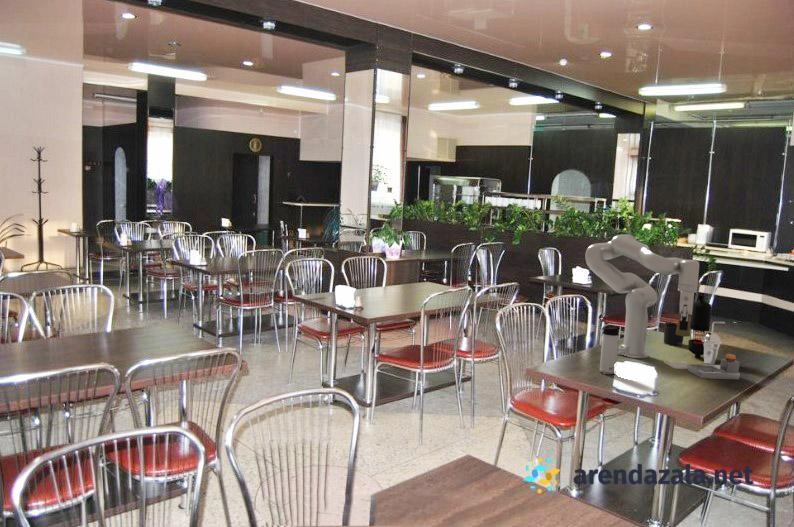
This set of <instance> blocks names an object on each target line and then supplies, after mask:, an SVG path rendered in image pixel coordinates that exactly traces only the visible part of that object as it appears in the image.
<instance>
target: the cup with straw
mask: <svg viewBox="0 0 794 527" xmlns="http://www.w3.org/2000/svg"><path fill="white" fill-rule="evenodd" d="M715 324H726V321H713V322H712V323H711V330H710V332H707V333H706V334H705V335H704V336H702V338H701V339H700V340H701V341H702V342H703V350H704V355H703V363H705V364H707V363H708V364H707V365H716V363H715V362H716V361H717V356H718V352H719V348H720V347H721V345H722V344H723V341H722V340H721V337H720V336H719V335H718V333H715V332H714V328H715Z"/></svg>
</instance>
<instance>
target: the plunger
mask: <svg viewBox="0 0 794 527" xmlns="http://www.w3.org/2000/svg"><path fill="white" fill-rule="evenodd" d="M736 358H737V357H736V354H731V353H726V354H725V359H727V360H728V361H734V360H736Z"/></svg>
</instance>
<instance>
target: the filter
mask: <svg viewBox="0 0 794 527" xmlns="http://www.w3.org/2000/svg"><path fill="white" fill-rule="evenodd" d="M711 315H712V305H711V304H710V303H709V302H707V301H705V298H704V296H703V295H699V296H698V300H696V301H693V311H692V315H691V318H690V330H693V331H694V332H695V333H694V338H693V339H689V340H688V350H689V352H690V353H691V354H693V355H694V358H695V359H701V357H702V356H704V350H703V342H702V341H701V340H702V338H701V337H704V336H705V335H704V333H705V332H709V331H710V326H711ZM696 336H697V337H696Z"/></svg>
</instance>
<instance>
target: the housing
mask: <svg viewBox="0 0 794 527" xmlns="http://www.w3.org/2000/svg"><path fill="white" fill-rule="evenodd" d="M686 370H687V372H688V371H689V372H690V373H692V374H694V375H695V376H697V377H699V378H700V379H708V378H709V379H712V380H717V379H718V380H740V379H741V378H740V375H741V373H740V372H739V370H740V361H737V360H736V359H735V360H734V361H728V360H727V359H726V358H720V363H719V364H699V363H698V364H696V363H695V364H693V363H691V364H690V363H689V364H687V369H686ZM712 371H713V372H712ZM709 379H708V380H709Z"/></svg>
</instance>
